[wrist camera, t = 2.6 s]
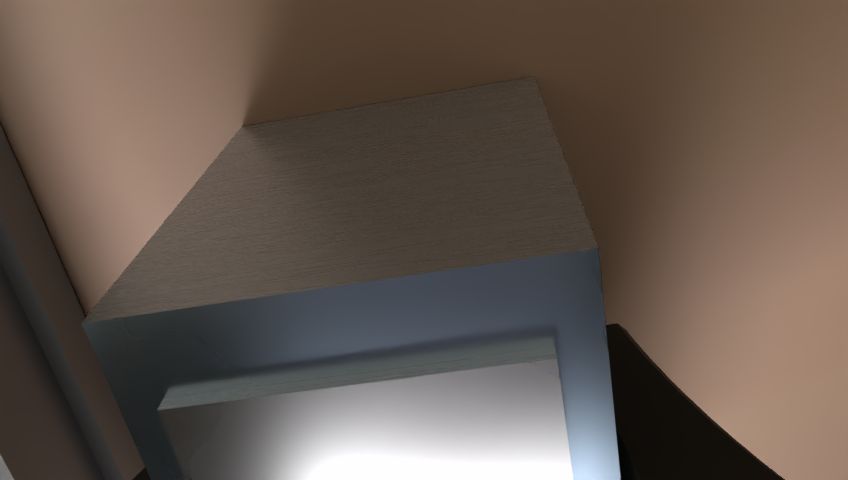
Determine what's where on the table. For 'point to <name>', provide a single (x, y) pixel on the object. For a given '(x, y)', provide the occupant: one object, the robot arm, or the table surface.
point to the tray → (49, 359)
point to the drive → (371, 304)
